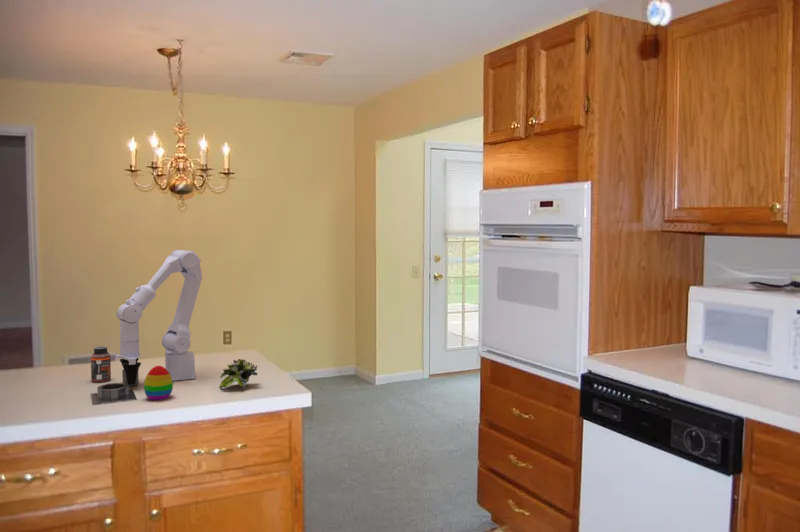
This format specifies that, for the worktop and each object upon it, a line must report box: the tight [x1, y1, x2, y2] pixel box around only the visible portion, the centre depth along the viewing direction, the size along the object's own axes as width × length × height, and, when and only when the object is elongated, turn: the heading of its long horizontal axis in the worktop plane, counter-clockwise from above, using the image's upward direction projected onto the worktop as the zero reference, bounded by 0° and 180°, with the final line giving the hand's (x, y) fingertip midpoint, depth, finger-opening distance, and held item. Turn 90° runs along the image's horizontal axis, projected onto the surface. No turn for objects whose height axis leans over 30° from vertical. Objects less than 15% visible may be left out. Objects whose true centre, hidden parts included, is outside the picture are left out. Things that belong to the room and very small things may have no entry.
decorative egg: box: [143, 365, 174, 401], centre depth 191 cm, size 8×8×10 cm
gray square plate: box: [90, 382, 138, 406], centre depth 192 cm, size 12×12×3 cm
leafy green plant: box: [218, 358, 259, 391], centre depth 203 cm, size 11×11×12 cm
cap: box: [121, 368, 140, 389], centre depth 204 cm, size 5×5×6 cm
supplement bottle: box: [90, 346, 112, 383], centre depth 211 cm, size 6×6×11 cm
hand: (130, 381), depth 205 cm, fingers closed on cap, 5 cm apart
